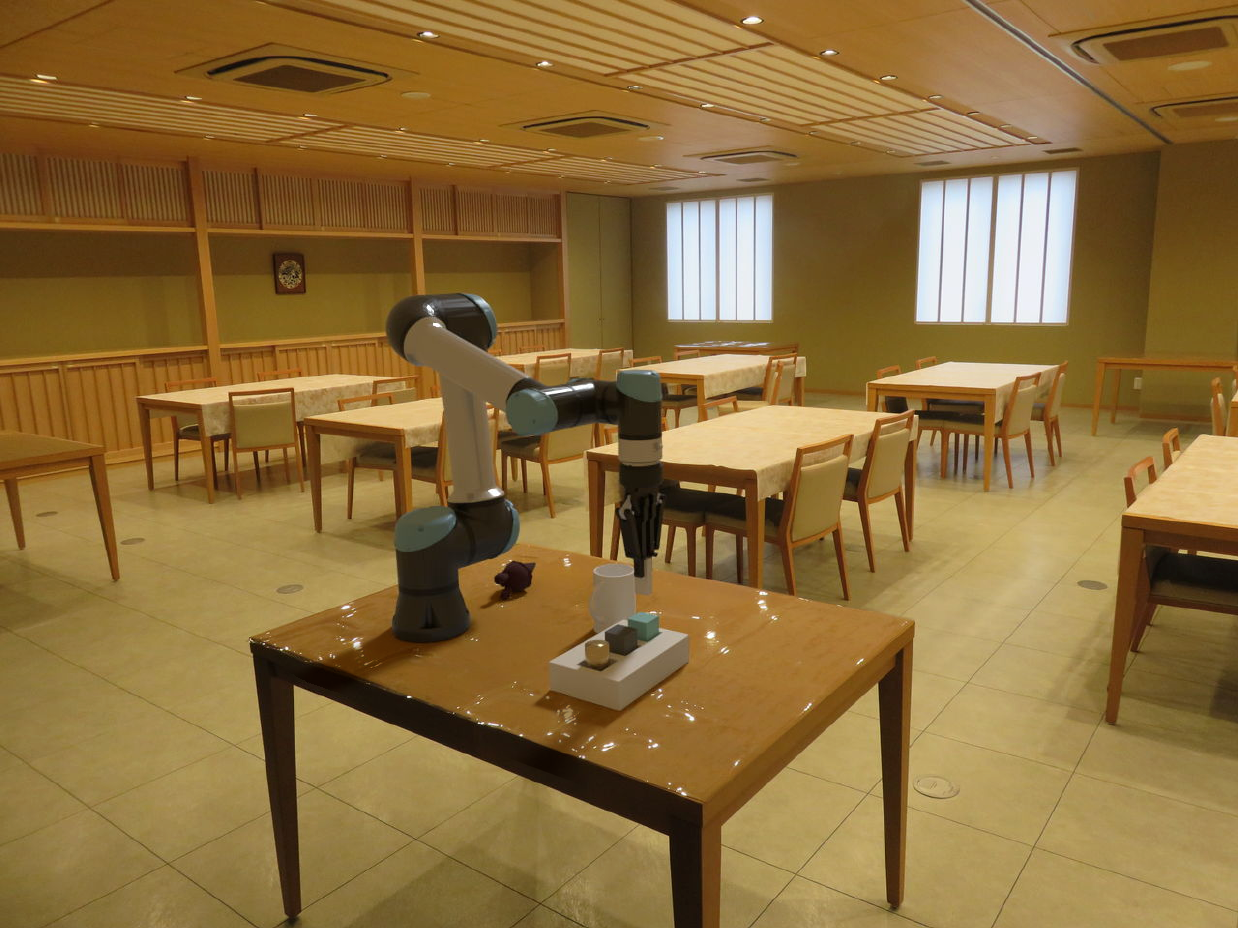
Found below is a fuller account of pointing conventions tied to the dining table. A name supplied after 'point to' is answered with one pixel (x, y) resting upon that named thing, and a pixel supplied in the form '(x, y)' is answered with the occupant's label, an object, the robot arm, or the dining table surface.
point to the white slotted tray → (619, 669)
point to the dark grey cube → (621, 639)
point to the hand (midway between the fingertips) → (643, 592)
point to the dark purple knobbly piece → (514, 578)
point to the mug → (612, 595)
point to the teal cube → (645, 625)
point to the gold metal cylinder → (597, 655)
